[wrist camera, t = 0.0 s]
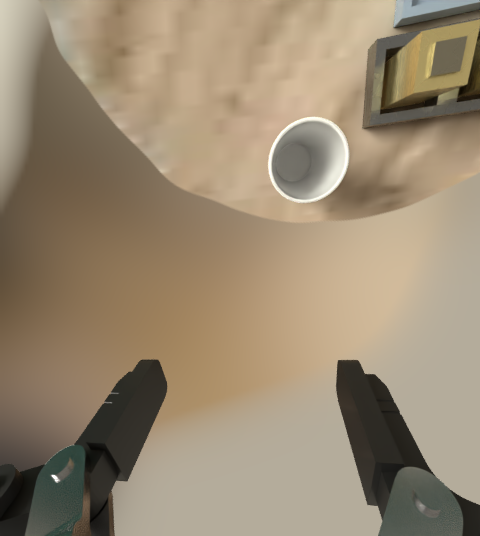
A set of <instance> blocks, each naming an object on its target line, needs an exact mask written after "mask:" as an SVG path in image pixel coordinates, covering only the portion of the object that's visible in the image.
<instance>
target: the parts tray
mask: <svg viewBox="0 0 480 536" xmlns="http://www.w3.org/2000/svg"><path fill="white" fill-rule="evenodd" d="M475 10H480V0H396V9H395V19H394V27H399V26H404V25H409V24H413V23H418V22H423V21H428V20H432V19H437V18H442V17H447V16H451V15H456V14H461V13H466V12H470V11H475Z"/></svg>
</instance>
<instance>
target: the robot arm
mask: <svg viewBox="0 0 480 536" xmlns="http://www.w3.org/2000/svg"><path fill="white" fill-rule="evenodd" d="M336 391H337V397H338V402H339V406H340V409H341V413H342V416H343V420H344V423H345V427H346V430H347V434H348V437H349V441H350V444H351V448H352V452H353V455H354V458H355V462H356V466H357V469H358V473H359V476H360V480H361V483H362V487H363V490H364V494H365V497H366V501H367V504H368V505H374V506H378V508H379V511H380V514H381V517H382V525H381V528H380V531H379V534H378V536H480V505H478V504H476V503H473V502H471V501H469V500H466V499H464V498H462V497H461V496H459V495H457V494H456V493H454V492H453V491H451V490H450V489H449V488H447V487H446V486H445V485H444V483H442V482H441V481H440V480H439V479H438V478H437V477H436V476H435V475H434V474H433V472H432V471H431V470H430V468H429V467H428V465H427V463H426V462H425V460H424V458H423V456H422V454H421V452H420V450H419V448H418V446H417V444H416V442H415V440H414V438H413V436H412V435H411V433H410V431H409V429H408V427H407V425H406V423H405V421H404V419H403V417H402V415H400V411H399V409H398V407H397V406H396V404H395V403H394V400H393V398H392V396H391V394H390V392H389V390H388V388H387V386H386V385H385V384H384V383H383V382H382V381H381V380H380V379H379V378H378V377H377V376H376V375H374V374H365V373H364V371H363V369H362V367H361V364H360V363H359V361H358V360H338V364H337V382H336ZM166 392H167V381H166V379H165V376H164V373H163V370H162V367H161V365H160V362H159V361H158V360H141V361H139V362H138V364H137V365H136V367H135V369H134V370H133V371H132V372H128V373H127V374H126V375H125V376H124V377H123V378H122V379H120V381H118V383H117V384H116V386H115V387H114V388H113V390H112V391H111V394H109V396H108V397H107V399H106V400H105V403H104V404H103V405H102V406H101V407H100V409H99V410H98V411H97V413H96V414H95V416H94V417H93V419H92V420H91V422H90V423H89V424H88V426H87V427H86V429H85V430H84V432H83V433H82V435H81V436H80V437H79V439H78V440H77V442H76V443H75V444H74V445H71V446H69V447H66V448H64V449H62V450H61V451H59V452H58V453H56V454H55V455H54V456H53V457H52V458H51V459H50V460H49V461H48V462H47V463H46V464H45V465H41V466H38V467H35V468H31V469H28V470H25V471H22V472H19V471H18V470H17V469H16V468H15V467H14V465H12V464H5V465H1V466H0V536H115V533H114V512H113V495H112V491H111V490H112V488H113V486H114V483H115V482H116V481H128V479H129V476H130V474H131V472H132V470H133V467H134V465H135V463H136V461H137V459H138V456H139V454H140V452H141V449H142V447H143V445H144V443H145V441H146V439H147V436H148V434H149V432H150V429H151V427H152V425H153V423H154V421H155V418H156V416H157V414H158V412H159V410H160V407H161V405H162V403H163V401H164V398H165V396H166Z"/></svg>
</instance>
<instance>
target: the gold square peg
mask: <svg viewBox="0 0 480 536" xmlns="http://www.w3.org/2000/svg"><path fill="white" fill-rule="evenodd" d="M477 94H480V39H479V40H477V42H476V46H475V51H474V56H473V60H472V65H471V69H470V74H469V79H468V83H467V85H464V86H462V87H460V88H459V92H458V97H464V96H470V95H477ZM458 97H457V98H458Z"/></svg>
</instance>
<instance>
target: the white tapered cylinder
mask: <svg viewBox="0 0 480 536" xmlns="http://www.w3.org/2000/svg"><path fill="white" fill-rule="evenodd" d="M349 157H350V153H349V145H348V142H347V139H346V137H345V135H344V133H343V132H342V130H341V129H340V128H339V127H338V126H337V125H336V124H335V123H333V122H331V121H330V120H327V119H325V118H321V117H307V118H303V119H300V120H297V121H295V122H293V123H292V124H290V125H289V126H287V127H286V128H285V129H284V130H283V131H282V132H281V133H280V134H279V136H278V137H277V138H276V140H275V141H274V143H273V145H272V147H271V150H270V153H269V157H268V173H269V177H270V180H271V182H272V184H273V186H274V187H275V189H276V190H277V191H278V192H279V193H280V194H281V195H282V196H283V197H285V198H286V199H288V200H290V201H293V202H297V203H312V202H316V201H319V200H321V199H323V198H325V197H327V196H328V195H329V194H331V193H332V192H333V191H334V190H335V189H336V188H337V187H338V186H339V184H340V183H341V182H342V180H343V178H344V176H345V174H346V172H347V169H348V165H349Z"/></svg>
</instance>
